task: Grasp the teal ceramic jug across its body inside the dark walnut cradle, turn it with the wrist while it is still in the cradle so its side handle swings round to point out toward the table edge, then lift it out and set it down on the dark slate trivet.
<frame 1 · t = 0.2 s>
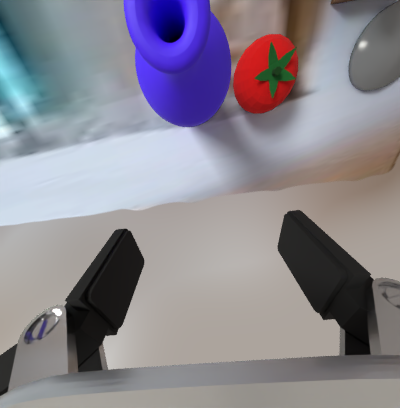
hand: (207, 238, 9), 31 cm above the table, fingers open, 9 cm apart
tomato: (254, 84, 30), on the table
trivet: (384, 50, 27), on the table
bottle: (191, 99, 31), on the table
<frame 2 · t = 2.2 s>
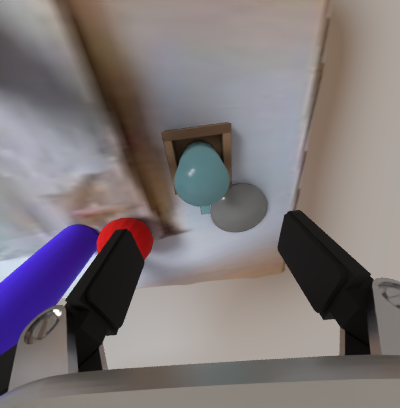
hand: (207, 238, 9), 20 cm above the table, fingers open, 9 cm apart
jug: (199, 158, 26), point 1 cm above the table, touching cradle
tomato: (135, 226, 34), on the table
cradle: (199, 157, 26), on the table
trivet: (237, 208, 32), on the table
bottle: (84, 235, 35), on the table
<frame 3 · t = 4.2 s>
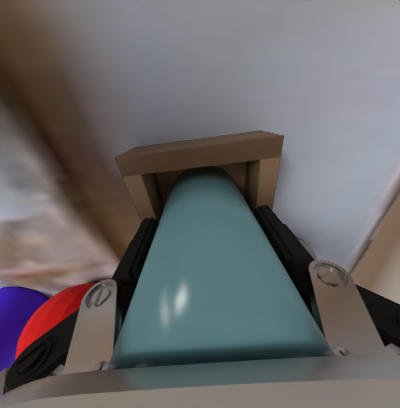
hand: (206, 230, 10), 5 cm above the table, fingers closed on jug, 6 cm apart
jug: (203, 197, 14), resting in cradle, touching gripper
tomato: (102, 287, 22), on the table
cradle: (203, 194, 14), on the table
bottle: (27, 298, 23), on the table
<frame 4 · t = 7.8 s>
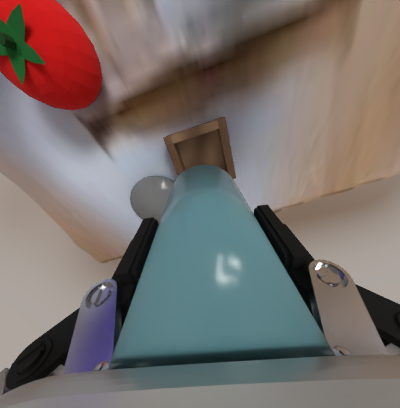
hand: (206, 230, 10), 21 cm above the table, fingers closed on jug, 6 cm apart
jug: (204, 197, 14), point 17 cm above the table, touching gripper
tomato: (79, 69, 22), on the table
cradle: (201, 155, 28), on the table
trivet: (159, 201, 33), on the table
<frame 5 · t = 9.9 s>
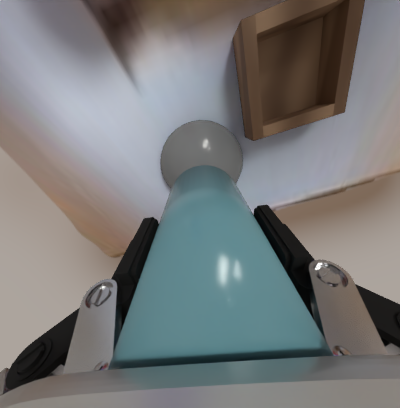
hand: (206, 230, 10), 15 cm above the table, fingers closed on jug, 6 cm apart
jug: (204, 198, 14), point 10 cm above the table, touching gripper
cradle: (281, 79, 17), on the table
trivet: (201, 165, 22), on the table
when the fingers open (6 cm above the table, at t = 11.9 s): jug stays where it is, resting on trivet.
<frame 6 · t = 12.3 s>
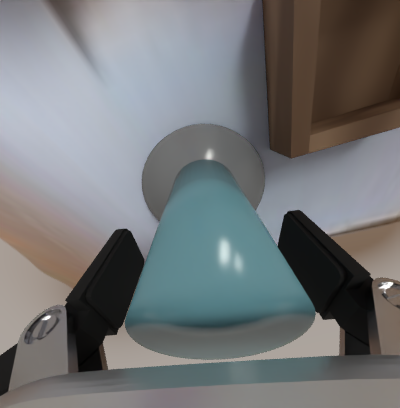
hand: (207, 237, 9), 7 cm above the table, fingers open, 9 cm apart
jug: (204, 191, 14), point 1 cm above the table, touching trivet
cradle: (338, 56, 10), on the table
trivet: (203, 188, 15), on the table
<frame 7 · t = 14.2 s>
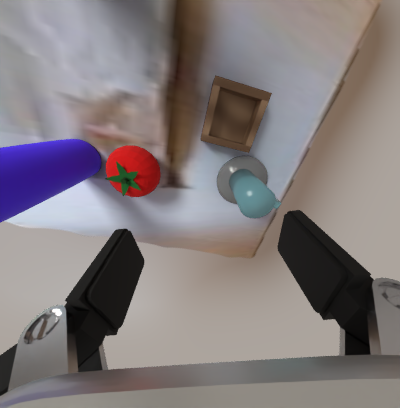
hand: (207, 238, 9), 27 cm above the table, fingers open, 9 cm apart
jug: (241, 181, 35), point 1 cm above the table, touching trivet
tomato: (142, 166, 35), on the table
cradle: (230, 118, 30), on the table
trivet: (241, 180, 36), on the table
bottle: (84, 157, 34), on the table
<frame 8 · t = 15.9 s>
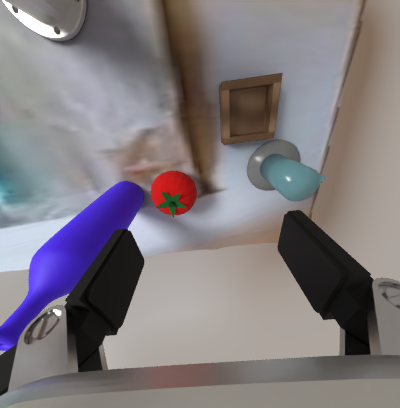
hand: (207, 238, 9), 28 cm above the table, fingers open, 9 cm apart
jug: (272, 167, 35), point 1 cm above the table, touching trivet
tomato: (176, 184, 38), on the table
cradle: (244, 112, 30), on the table
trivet: (271, 166, 36), on the table
bottle: (129, 194, 39), on the table
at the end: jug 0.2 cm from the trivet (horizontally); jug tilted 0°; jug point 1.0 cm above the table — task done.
